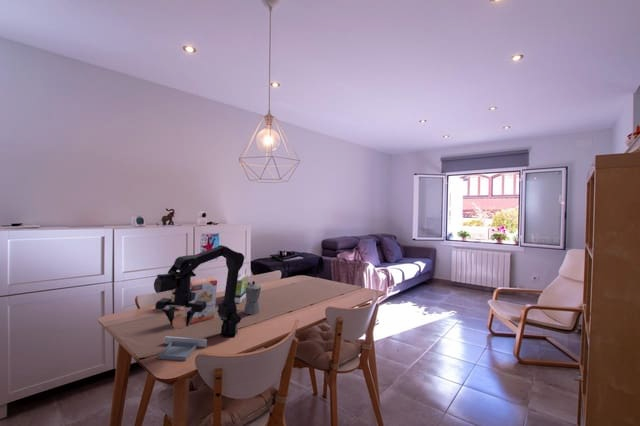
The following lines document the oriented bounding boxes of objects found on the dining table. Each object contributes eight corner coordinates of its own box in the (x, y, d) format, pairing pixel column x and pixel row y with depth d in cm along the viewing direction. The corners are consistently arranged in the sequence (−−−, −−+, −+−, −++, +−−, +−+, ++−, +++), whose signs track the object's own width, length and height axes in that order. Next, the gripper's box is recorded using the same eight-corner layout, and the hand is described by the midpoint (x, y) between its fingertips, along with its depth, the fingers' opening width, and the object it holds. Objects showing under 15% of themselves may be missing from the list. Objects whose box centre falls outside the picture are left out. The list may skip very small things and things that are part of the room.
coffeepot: (263, 314, 169) (265, 283, 168) (247, 317, 164) (249, 285, 163) (253, 306, 182) (255, 277, 181) (238, 308, 177) (240, 278, 176)
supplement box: (169, 307, 169) (171, 284, 168) (176, 305, 173) (177, 283, 173) (180, 310, 166) (182, 287, 166) (187, 307, 170) (188, 285, 170)
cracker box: (189, 324, 148) (191, 283, 148) (183, 321, 153) (186, 280, 152) (215, 318, 159) (217, 279, 158) (209, 314, 163) (212, 277, 162)
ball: (190, 326, 125) (191, 312, 124) (183, 332, 119) (184, 317, 118) (176, 325, 125) (177, 311, 124) (168, 331, 118) (169, 316, 118)
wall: (206, 346, 129) (207, 339, 129) (205, 347, 128) (206, 340, 128) (165, 343, 129) (165, 336, 128) (164, 343, 128) (164, 337, 128)
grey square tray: (197, 347, 127) (197, 343, 127) (185, 360, 116) (185, 356, 116) (171, 345, 127) (171, 341, 127) (157, 358, 116) (157, 354, 116)
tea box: (240, 303, 184) (242, 280, 184) (224, 302, 184) (226, 278, 184) (246, 296, 199) (248, 274, 199) (232, 295, 199) (233, 273, 199)
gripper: (212, 284, 129) (210, 319, 130) (169, 281, 129) (167, 316, 130) (202, 291, 118) (199, 330, 118) (155, 288, 118) (153, 326, 118)
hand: (180, 325), depth 121 cm, fingers closed on ball, 6 cm apart
